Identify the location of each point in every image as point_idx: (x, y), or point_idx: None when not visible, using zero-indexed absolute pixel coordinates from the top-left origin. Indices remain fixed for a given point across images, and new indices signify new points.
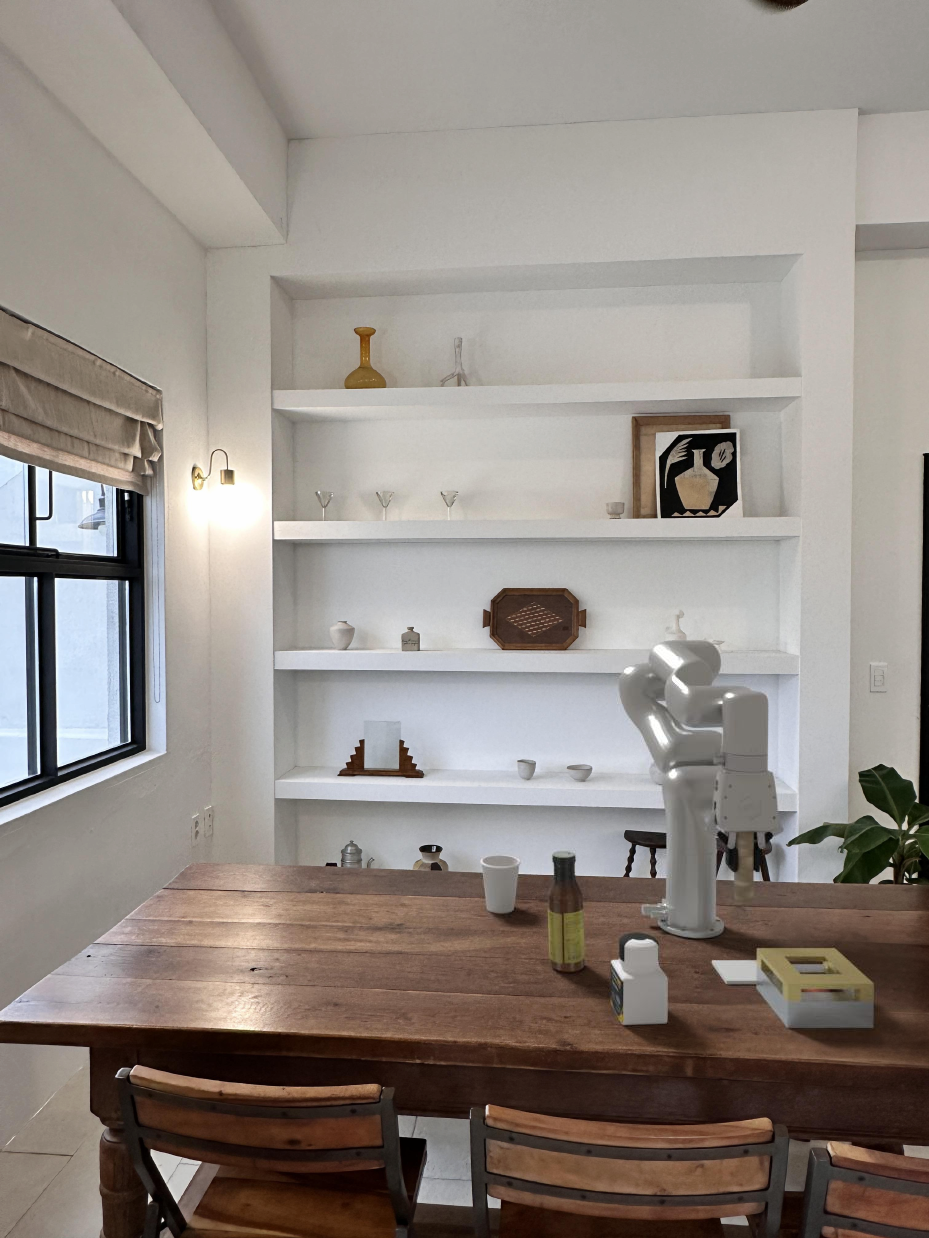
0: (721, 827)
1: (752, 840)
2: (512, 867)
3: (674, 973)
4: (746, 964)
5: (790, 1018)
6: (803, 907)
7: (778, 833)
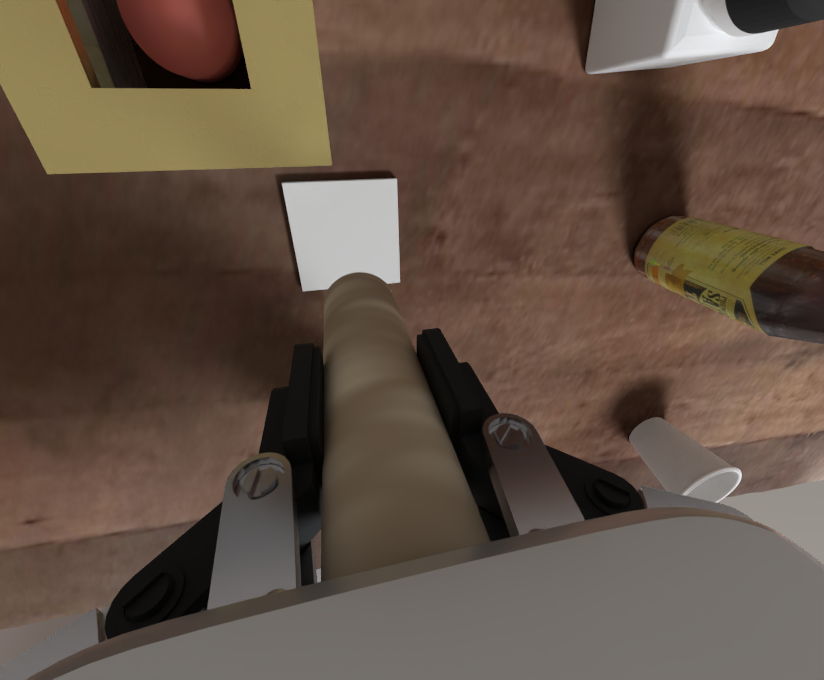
0: (782, 535)
1: (345, 500)
2: (705, 474)
3: (486, 228)
4: (330, 268)
5: None
6: (168, 525)
7: (25, 656)
